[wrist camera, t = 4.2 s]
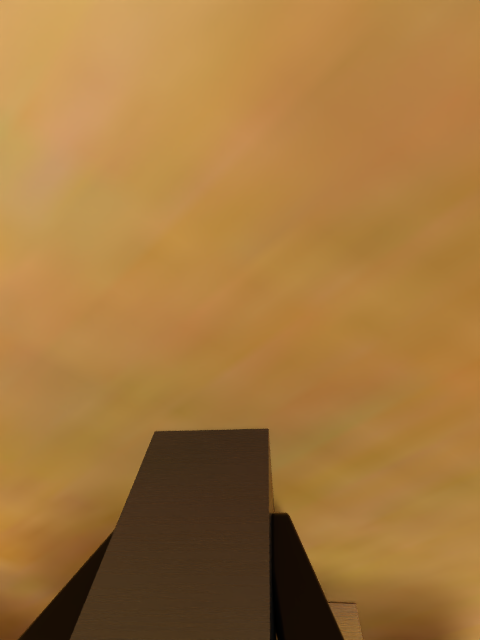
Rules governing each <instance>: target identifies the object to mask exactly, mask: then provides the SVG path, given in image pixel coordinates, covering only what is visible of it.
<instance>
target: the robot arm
mask: <svg viewBox="0 0 480 640" xmlns="http://www.w3.org/2000/svg"><path fill="white" fill-rule="evenodd" d="M113 533H114V531H113V532H112V533H111V534H110V535H109V537H108V538H107V539H106V540H105V541H104V542H103V543H102V545H101V546H100V547H99V548H98V549H97V550H96V551H95V552H94V554H93V555H92V556H91V557H90V558H89V559H88V560H87V562H86V563H85V564H84V565H83V566H82V567H81V568H80V570H79V571H78V572H77V573H76V574H75V575H74V576H73V578H72V579H71V580H70V581H69V582H68V583H67V584H66V585H65V587H64V588H63V589H62V590H61V591H60V592H59V593H58V595H57V596H56V597H55V598H54V599H53V600H52V601H51V603H50V604H49V605H48V606H47V607H46V608H45V609H44V610H43V612H42V613H41V614H40V615H39V616H38V617H37V618H36V620H35V621H34V622H33V623H32V624H31V625H30V626H29V628H28V629H27V630H26V631H25V632H24V633H23V634H22V636H21V637H20V638H19V639H18V640H70V638H71V635H72V633H73V630H74V628H75V626H76V623H77V621H78V618H79V616H80V613H81V611H82V608H83V606H84V604H85V601H86V599H87V596H88V594H89V591H90V589H91V586H92V584H93V582H94V579H95V577H96V574H97V572H98V569H99V567H100V564H101V562H102V560H103V557H104V555H105V552H106V550H107V547H108V545H109V542H110V540H111V538H112V535H113ZM271 543H272V587H273V599H274V611H275V622H276V634H277V640H344V637H343V635H342V633H341V631H340V628H339V626H338V624H337V622H336V619H335V617H334V615H333V613H332V610H331V608H330V606H329V604H328V601H327V599H326V597H325V595H324V592H323V590H322V588H321V586H320V583H319V581H318V579H317V577H316V574H315V572H314V570H313V568H312V565H311V563H310V561H309V559H308V556H307V554H306V552H305V550H304V547H303V545H302V543H301V541H300V538H299V536H298V534H297V532H296V529H295V527H294V525H293V523H292V520H291V518H290V516H289V515H288V514H287V513H272V514H271Z"/></svg>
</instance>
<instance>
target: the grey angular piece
mask: <svg viewBox="0 0 480 640" xmlns="http://www.w3.org/2000/svg"><path fill="white" fill-rule="evenodd" d="M272 513H274V501H273V487H272V473H271V459H270V444H269V430H268V429H242V430H199V431H156V432H154V435H153V437H152V440H151V442H150V445H149V447H148V449H147V452H146V454H145V457H144V459H143V462H142V464H141V467H140V469H139V471H138V474H137V476H136V479H135V481H134V484H133V486H132V489H131V491H130V493H129V496H128V498H127V501H126V503H125V506H124V508H123V511H122V513H121V515H120V518H119V520H118V523H117V525H116V528H115V530H114V533H113V535H112V538H111V540H110V542H109V545H108V547H107V550H106V552H105V555H104V557H103V560H102V562H101V564H100V567H99V569H98V572H97V574H96V577H95V579H94V582H93V584H92V586H91V589H90V591H89V594H88V596H87V599H86V601H85V604H84V606H83V608H82V611H81V613H80V616H79V618H78V621H77V623H76V626H75V628H74V630H73V633H72V635H71V638H70V640H277V634H276V622H275V611H274V599H273V587H272V543H271V514H272ZM328 604H329V606H330V608H331V610H332V613H333V615H334V617H335V619H336V622H337V624H338V626H339V628H340V631H341V633H342V635H343V637H344V640H363V637H362V632H361V627H360V622H359V617H358V612H357V607H356V604H344V603H328Z"/></svg>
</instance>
